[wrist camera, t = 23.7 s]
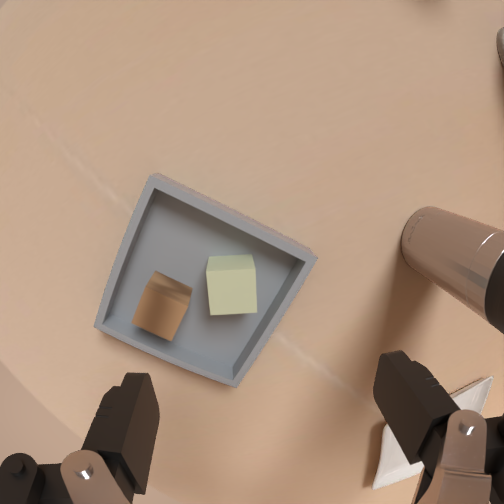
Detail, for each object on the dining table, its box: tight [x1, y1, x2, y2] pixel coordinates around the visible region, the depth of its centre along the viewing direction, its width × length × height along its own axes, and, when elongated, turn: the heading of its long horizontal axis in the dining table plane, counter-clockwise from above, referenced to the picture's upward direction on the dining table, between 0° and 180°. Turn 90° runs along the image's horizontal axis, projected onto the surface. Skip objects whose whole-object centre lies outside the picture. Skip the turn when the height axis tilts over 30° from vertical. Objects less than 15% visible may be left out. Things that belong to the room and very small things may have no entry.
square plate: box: [372, 376, 494, 490], centre depth 51 cm, size 27×27×4 cm
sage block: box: [206, 254, 257, 315], centre depth 35 cm, size 5×5×5 cm
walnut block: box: [131, 271, 193, 341], centre depth 35 cm, size 5×5×5 cm
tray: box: [94, 173, 318, 388], centre depth 37 cm, size 20×20×4 cm
